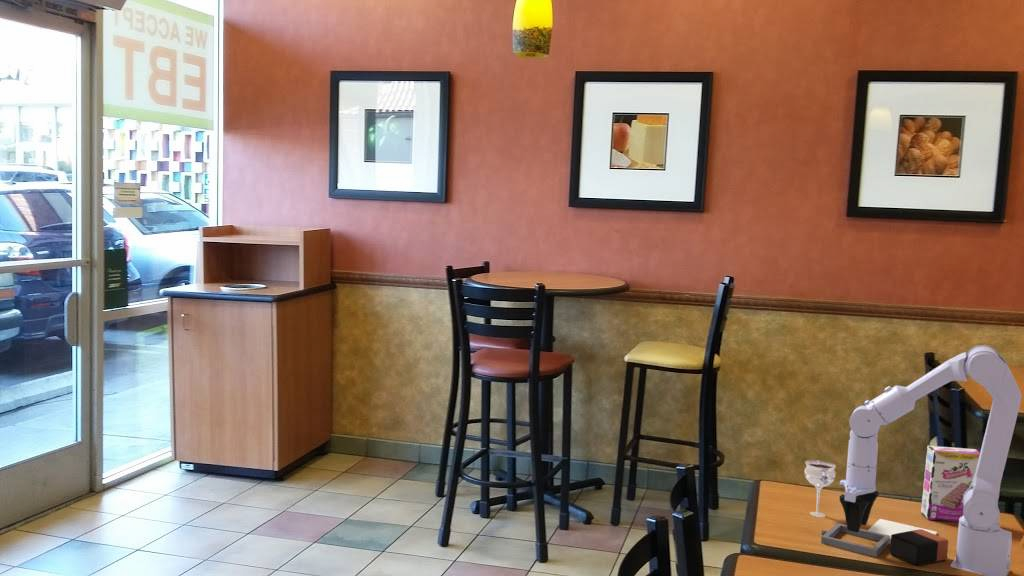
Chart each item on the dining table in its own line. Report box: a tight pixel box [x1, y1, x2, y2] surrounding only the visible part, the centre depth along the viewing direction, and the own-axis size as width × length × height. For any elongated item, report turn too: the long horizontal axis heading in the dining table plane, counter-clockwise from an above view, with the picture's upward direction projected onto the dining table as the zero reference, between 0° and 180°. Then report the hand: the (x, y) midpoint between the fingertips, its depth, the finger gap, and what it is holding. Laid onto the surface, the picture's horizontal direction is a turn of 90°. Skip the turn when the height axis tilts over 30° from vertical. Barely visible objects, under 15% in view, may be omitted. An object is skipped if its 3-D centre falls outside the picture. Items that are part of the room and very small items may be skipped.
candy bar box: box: [920, 445, 981, 523], centre depth 203 cm, size 11×5×16 cm, turn 84°
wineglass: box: [803, 459, 837, 518], centre depth 202 cm, size 7×7×12 cm
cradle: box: [820, 523, 891, 558], centre depth 186 cm, size 12×11×2 cm
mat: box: [868, 518, 938, 541], centre depth 192 cm, size 12×12×1 cm
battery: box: [889, 529, 949, 566], centre depth 179 cm, size 4×7×10 cm
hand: (856, 527), depth 185 cm, fingers open, 5 cm apart
